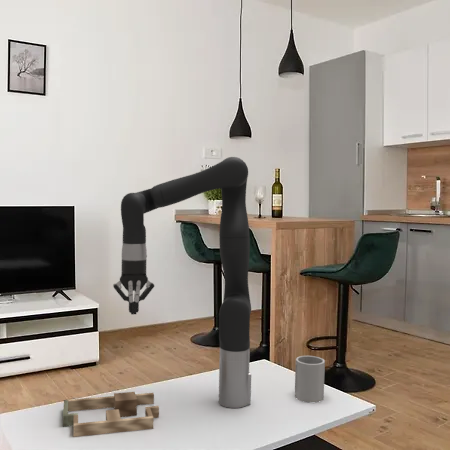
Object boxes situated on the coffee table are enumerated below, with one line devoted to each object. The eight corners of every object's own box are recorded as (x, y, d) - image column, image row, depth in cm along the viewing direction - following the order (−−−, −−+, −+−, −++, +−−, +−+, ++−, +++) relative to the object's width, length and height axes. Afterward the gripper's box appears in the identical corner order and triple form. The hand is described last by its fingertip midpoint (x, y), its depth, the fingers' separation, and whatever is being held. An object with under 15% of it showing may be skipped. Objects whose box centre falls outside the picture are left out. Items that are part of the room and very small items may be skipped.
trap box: (153, 402, 161) (153, 392, 161) (162, 427, 143) (162, 417, 143) (63, 410, 153) (63, 400, 153) (62, 437, 136) (62, 426, 136)
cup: (329, 398, 167) (330, 361, 166) (308, 404, 161) (309, 366, 161) (309, 389, 174) (310, 354, 173) (288, 395, 169) (289, 358, 168)
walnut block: (134, 408, 156) (134, 391, 156) (136, 416, 151) (136, 399, 150) (113, 410, 155) (114, 393, 155) (115, 418, 149) (115, 401, 149)
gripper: (153, 256, 166) (153, 310, 167) (111, 256, 162) (110, 312, 163) (157, 259, 159) (156, 315, 160) (112, 259, 155) (112, 317, 156)
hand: (133, 313), depth 162 cm, fingers closed
